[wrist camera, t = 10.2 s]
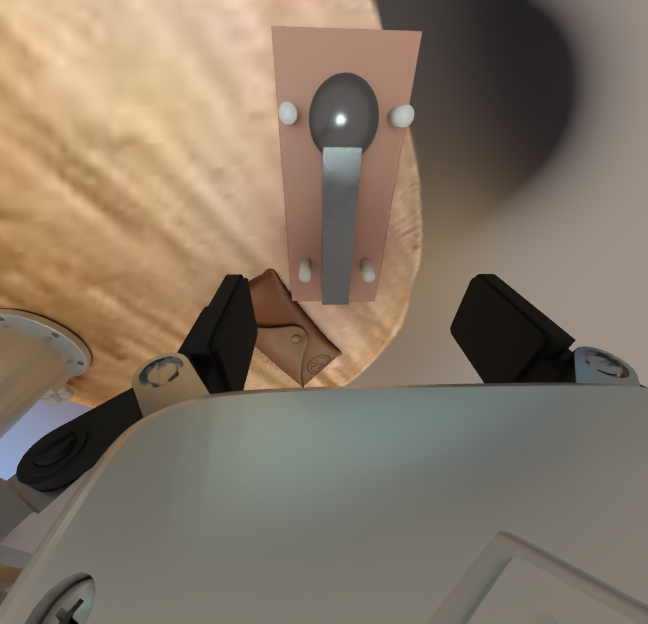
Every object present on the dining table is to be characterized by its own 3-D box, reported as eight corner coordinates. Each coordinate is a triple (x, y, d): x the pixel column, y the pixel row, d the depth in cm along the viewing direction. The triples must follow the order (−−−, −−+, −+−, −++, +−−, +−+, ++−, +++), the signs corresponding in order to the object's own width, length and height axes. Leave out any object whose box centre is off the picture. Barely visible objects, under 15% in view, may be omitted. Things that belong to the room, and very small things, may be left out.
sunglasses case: (347, 354, 37) (329, 395, 33) (314, 352, 42) (295, 388, 38) (270, 263, 27) (234, 306, 24) (238, 273, 32) (204, 311, 29)
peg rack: (372, 296, 31) (379, 316, 27) (292, 296, 30) (289, 316, 27) (417, 35, 17) (439, 15, 14) (273, 30, 17) (263, 9, 14)
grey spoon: (354, 289, 29) (357, 304, 26) (313, 289, 29) (312, 304, 26) (375, 79, 18) (384, 73, 15) (309, 78, 18) (307, 71, 15)
